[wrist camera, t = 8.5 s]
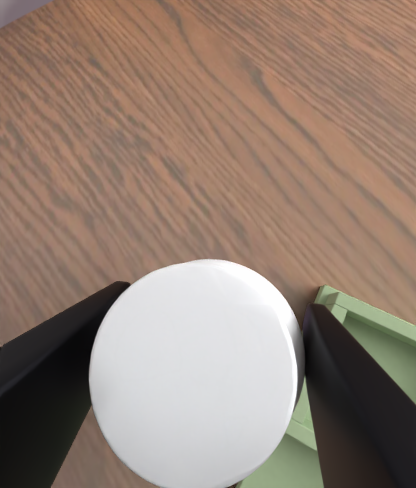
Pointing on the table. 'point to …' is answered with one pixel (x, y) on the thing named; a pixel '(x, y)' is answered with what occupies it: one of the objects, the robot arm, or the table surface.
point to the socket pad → (300, 426)
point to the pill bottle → (197, 374)
